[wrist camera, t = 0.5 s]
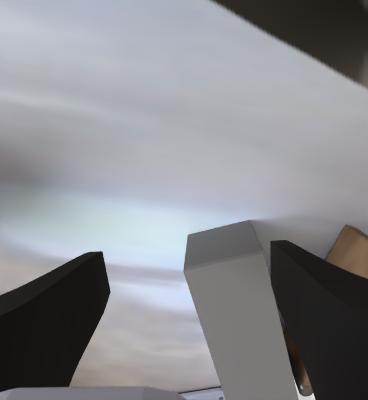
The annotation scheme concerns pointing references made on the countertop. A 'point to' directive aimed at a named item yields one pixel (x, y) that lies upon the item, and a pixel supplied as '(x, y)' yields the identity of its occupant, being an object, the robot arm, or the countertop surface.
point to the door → (348, 260)
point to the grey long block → (239, 313)
